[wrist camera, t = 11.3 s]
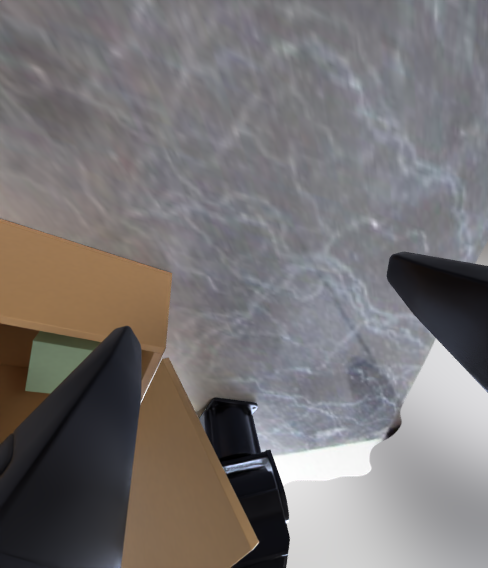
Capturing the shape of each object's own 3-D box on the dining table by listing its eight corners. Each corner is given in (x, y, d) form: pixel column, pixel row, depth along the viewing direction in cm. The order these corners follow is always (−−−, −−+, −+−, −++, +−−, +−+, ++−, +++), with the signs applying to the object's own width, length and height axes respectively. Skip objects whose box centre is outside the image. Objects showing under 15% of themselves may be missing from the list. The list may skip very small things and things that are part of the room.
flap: (162, 358, 13) (169, 357, 13) (102, 483, 19) (108, 480, 19) (252, 550, 8) (260, 542, 9) (136, 641, 14) (143, 635, 14)
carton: (172, 273, 21) (165, 359, 13) (127, 380, 26) (104, 484, 19) (-122, 179, 14) (-486, 243, 6) (-98, 349, 20) (-278, 492, 12)
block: (131, 311, 21) (119, 355, 17) (117, 351, 23) (102, 399, 19) (64, 294, 20) (32, 340, 15) (55, 340, 22) (24, 391, 17)
